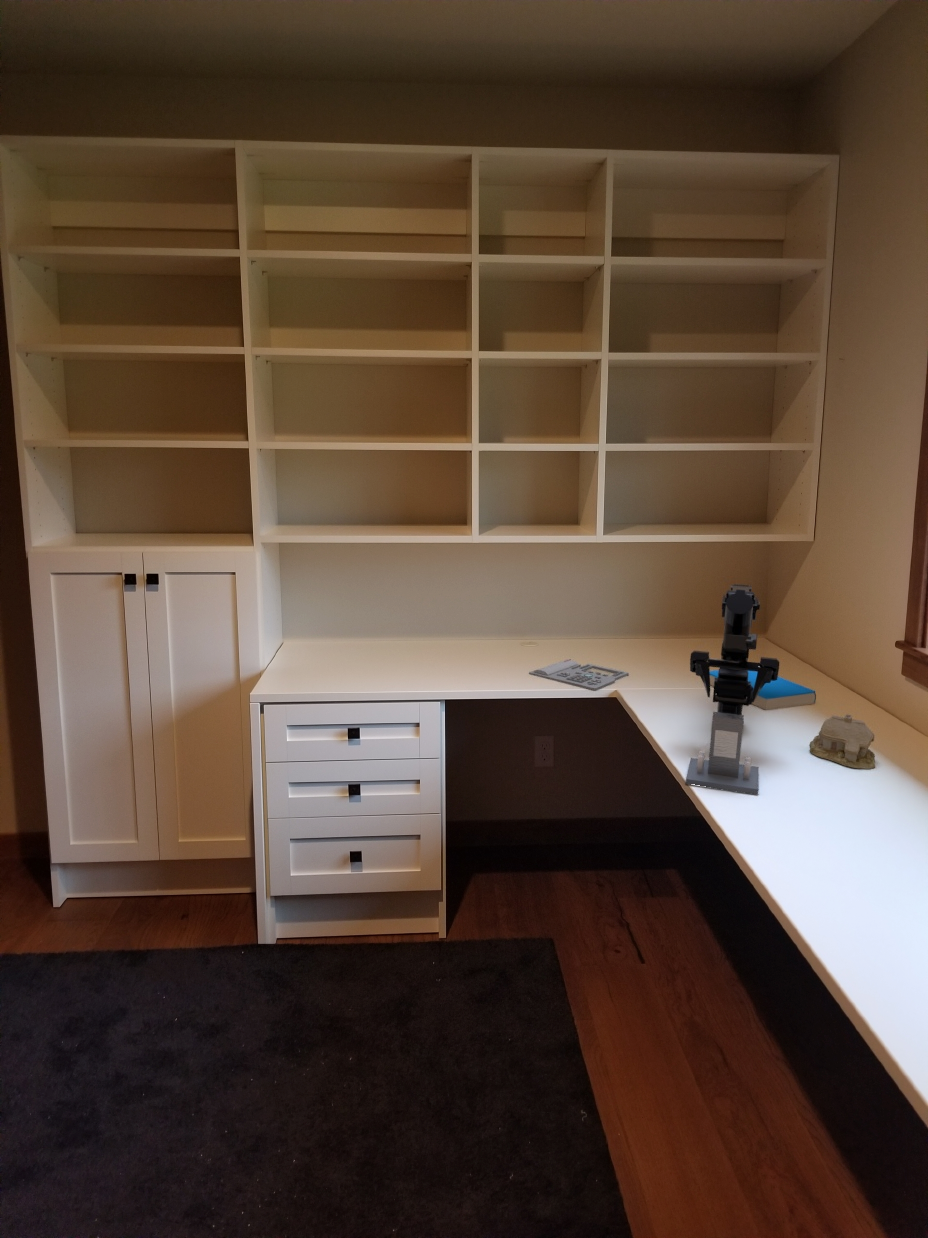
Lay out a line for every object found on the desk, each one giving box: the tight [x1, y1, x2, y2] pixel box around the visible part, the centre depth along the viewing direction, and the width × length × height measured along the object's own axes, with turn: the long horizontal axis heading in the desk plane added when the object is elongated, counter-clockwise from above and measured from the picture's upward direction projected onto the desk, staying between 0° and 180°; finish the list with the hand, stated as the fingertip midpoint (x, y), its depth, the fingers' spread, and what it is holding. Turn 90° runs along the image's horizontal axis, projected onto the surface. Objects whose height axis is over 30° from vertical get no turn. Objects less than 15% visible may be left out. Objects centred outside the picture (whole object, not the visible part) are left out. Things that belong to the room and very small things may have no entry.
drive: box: [708, 711, 745, 778], centre depth 172 cm, size 3×6×12 cm, turn 71°
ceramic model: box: [808, 714, 876, 770], centre depth 185 cm, size 14×11×10 cm
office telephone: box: [528, 659, 630, 692], centre depth 245 cm, size 23×3×20 cm
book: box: [710, 669, 817, 711], centre depth 230 cm, size 17×4×25 cm
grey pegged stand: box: [685, 750, 760, 795], centre depth 173 cm, size 12×14×5 cm
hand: (730, 699), depth 182 cm, fingers open, 9 cm apart
